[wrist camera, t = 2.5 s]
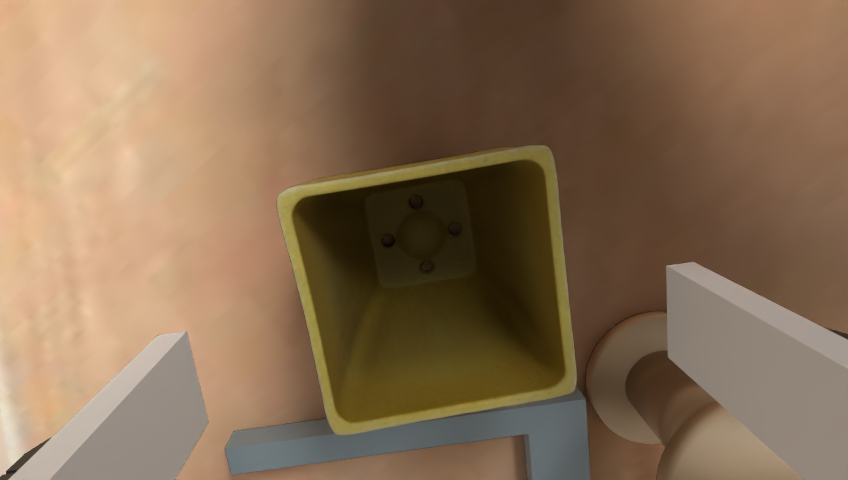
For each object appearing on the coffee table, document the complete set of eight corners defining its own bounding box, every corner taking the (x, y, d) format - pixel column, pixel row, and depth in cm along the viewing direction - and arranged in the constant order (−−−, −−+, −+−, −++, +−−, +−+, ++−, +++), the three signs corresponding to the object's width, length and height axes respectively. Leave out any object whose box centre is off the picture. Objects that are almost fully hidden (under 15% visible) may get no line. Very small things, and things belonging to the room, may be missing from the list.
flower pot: (522, 304, 28) (581, 397, 19) (351, 334, 27) (330, 441, 19) (500, 128, 25) (554, 141, 17) (314, 160, 25) (271, 190, 17)
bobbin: (582, 321, 28) (666, 419, 19) (716, 302, 28) (862, 392, 19) (588, 441, 30) (669, 581, 21) (716, 423, 30) (849, 555, 21)
